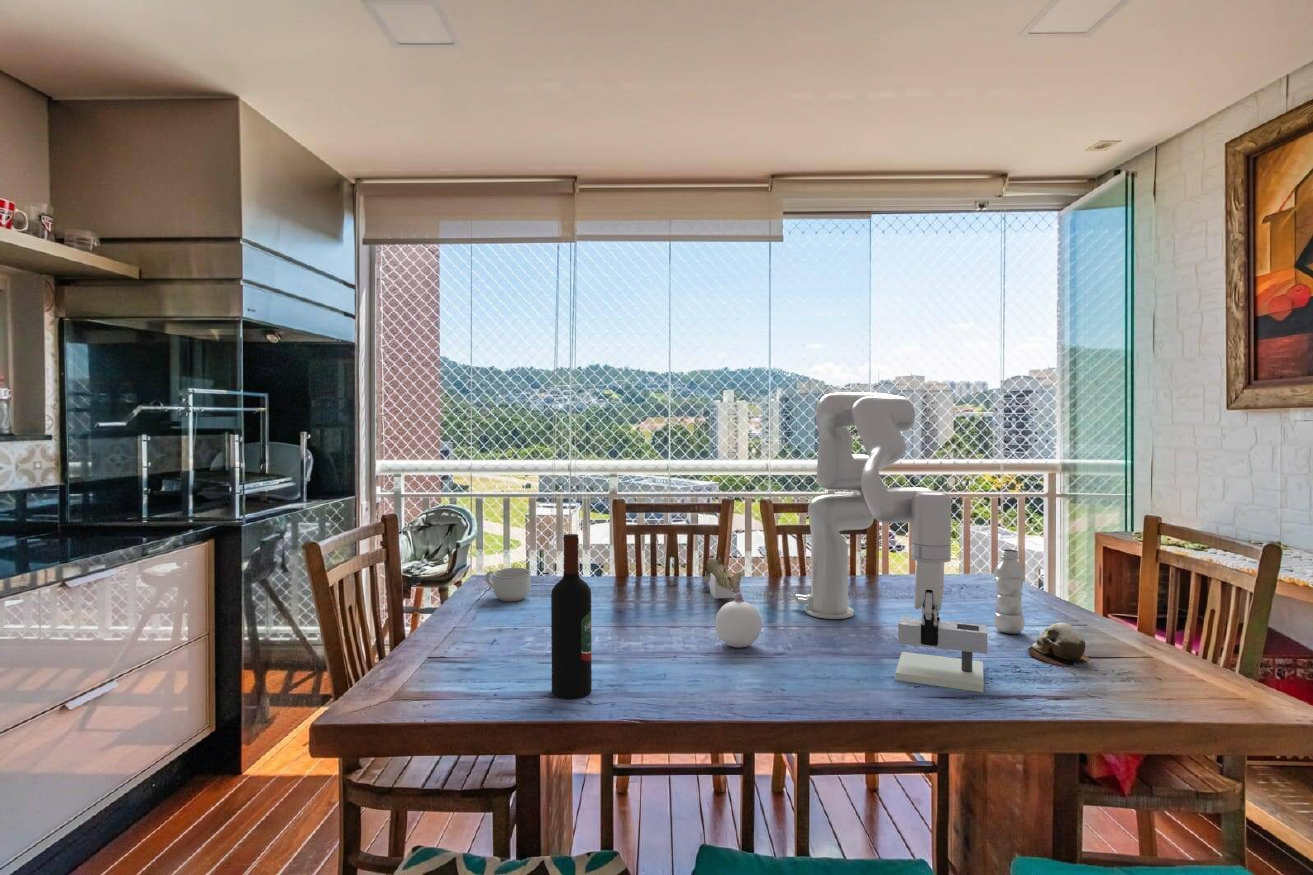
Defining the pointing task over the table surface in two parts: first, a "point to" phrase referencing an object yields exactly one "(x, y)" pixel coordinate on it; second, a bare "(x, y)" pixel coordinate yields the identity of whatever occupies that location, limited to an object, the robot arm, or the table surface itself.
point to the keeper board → (941, 671)
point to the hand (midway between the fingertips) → (930, 639)
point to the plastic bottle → (1009, 593)
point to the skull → (1060, 646)
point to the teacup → (510, 583)
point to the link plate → (945, 635)
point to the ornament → (738, 623)
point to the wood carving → (722, 580)
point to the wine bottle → (571, 629)
